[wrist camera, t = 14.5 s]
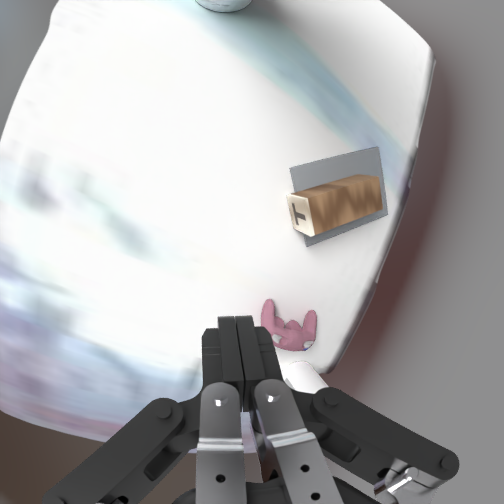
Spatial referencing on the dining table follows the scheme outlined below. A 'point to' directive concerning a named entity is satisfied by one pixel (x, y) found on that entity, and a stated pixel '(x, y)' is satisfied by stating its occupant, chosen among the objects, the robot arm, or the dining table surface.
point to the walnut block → (334, 203)
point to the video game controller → (289, 329)
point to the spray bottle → (303, 377)
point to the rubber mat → (335, 170)
